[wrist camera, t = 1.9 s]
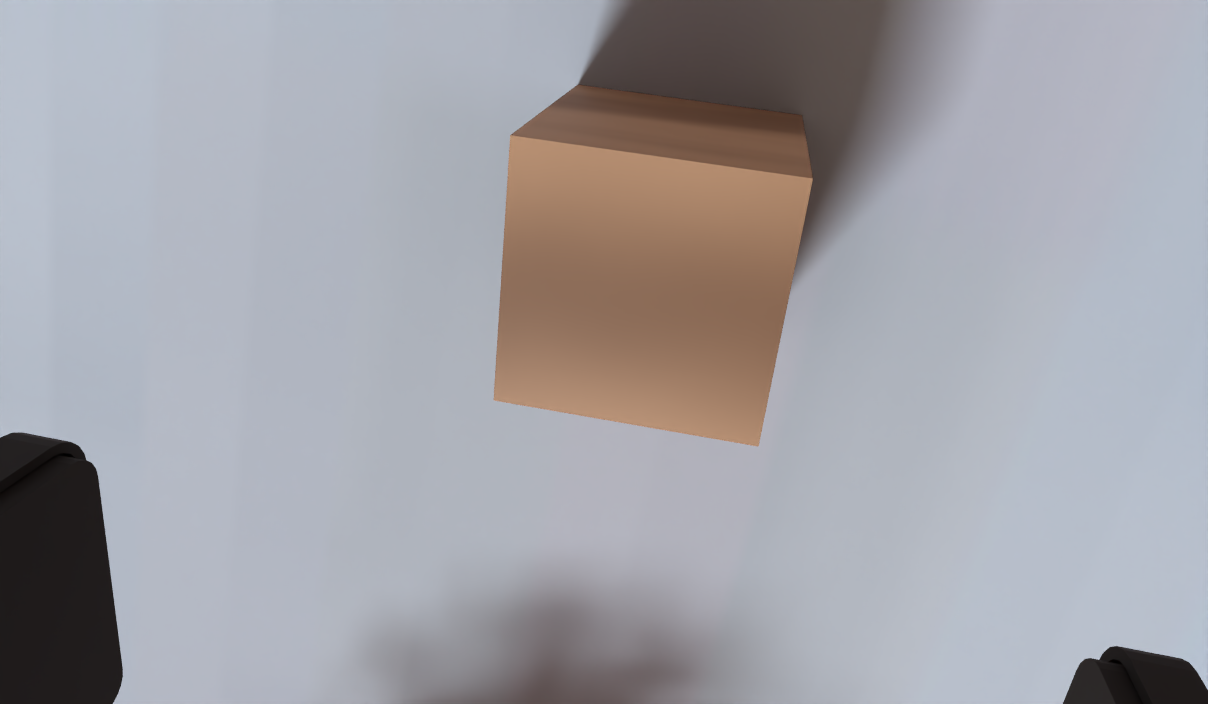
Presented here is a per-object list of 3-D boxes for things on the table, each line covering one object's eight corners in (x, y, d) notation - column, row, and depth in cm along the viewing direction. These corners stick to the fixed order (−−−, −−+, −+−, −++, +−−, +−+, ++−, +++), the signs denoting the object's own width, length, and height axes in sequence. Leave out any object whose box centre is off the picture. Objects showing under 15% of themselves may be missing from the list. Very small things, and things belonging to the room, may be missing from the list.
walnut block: (578, 84, 21) (509, 135, 15) (801, 114, 20) (813, 178, 15) (559, 291, 23) (493, 400, 18) (761, 324, 22) (758, 446, 17)
